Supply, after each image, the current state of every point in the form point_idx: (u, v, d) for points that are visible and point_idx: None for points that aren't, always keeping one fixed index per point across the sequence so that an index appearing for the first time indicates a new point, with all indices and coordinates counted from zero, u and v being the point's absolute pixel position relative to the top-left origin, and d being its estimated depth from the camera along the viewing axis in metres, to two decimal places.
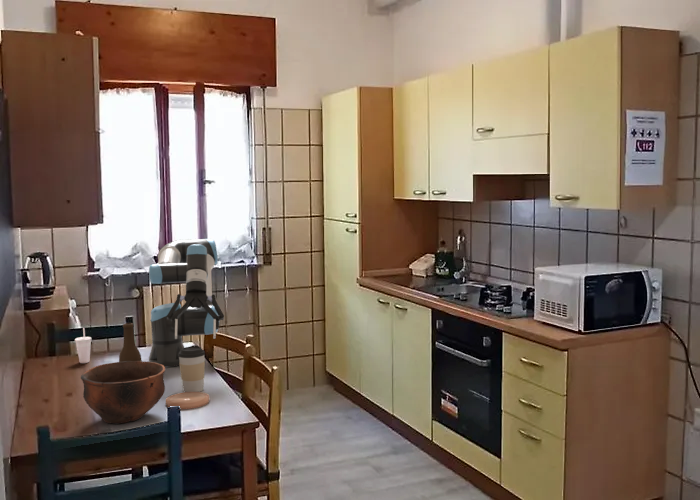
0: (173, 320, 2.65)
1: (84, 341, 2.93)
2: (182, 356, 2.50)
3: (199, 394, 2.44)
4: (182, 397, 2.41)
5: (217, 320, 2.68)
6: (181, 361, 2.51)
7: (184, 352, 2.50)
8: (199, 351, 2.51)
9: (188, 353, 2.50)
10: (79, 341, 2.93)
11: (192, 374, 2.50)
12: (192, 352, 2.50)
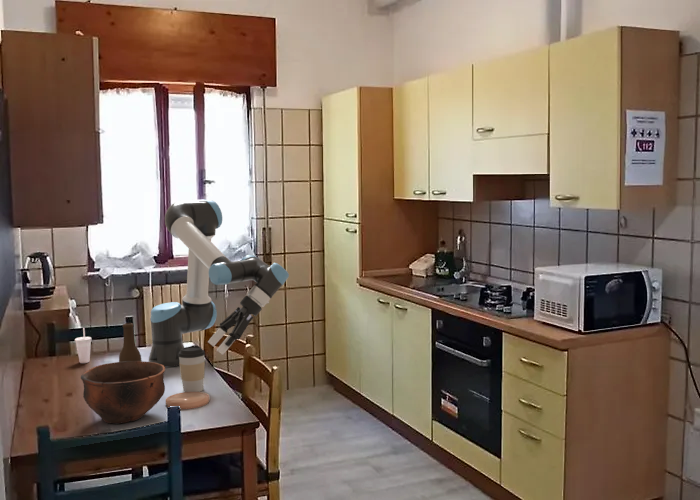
0: None
1: (84, 341, 2.93)
2: (182, 356, 2.50)
3: (199, 394, 2.44)
4: (182, 397, 2.41)
5: None
6: (181, 361, 2.51)
7: (184, 352, 2.50)
8: (199, 351, 2.51)
9: (188, 353, 2.50)
10: (79, 341, 2.93)
11: (192, 374, 2.50)
12: (192, 352, 2.50)
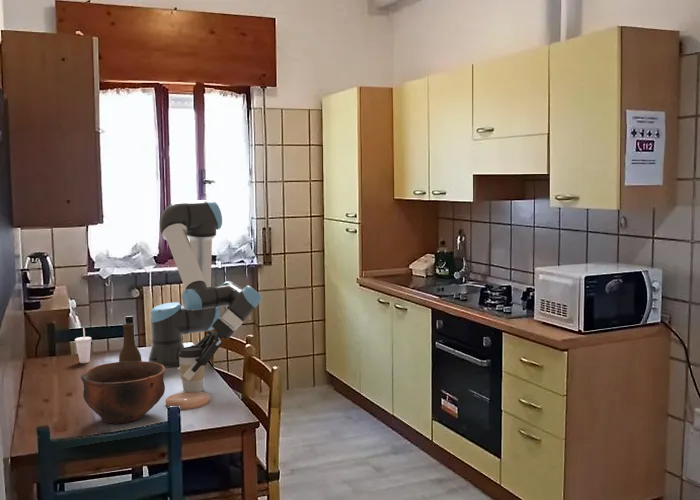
0: None
1: (84, 341, 2.93)
2: (182, 356, 2.50)
3: (199, 394, 2.44)
4: (182, 397, 2.41)
5: None
6: (181, 361, 2.51)
7: (184, 352, 2.50)
8: (199, 351, 2.51)
9: (188, 353, 2.50)
10: (79, 341, 2.93)
11: None
12: (192, 352, 2.50)
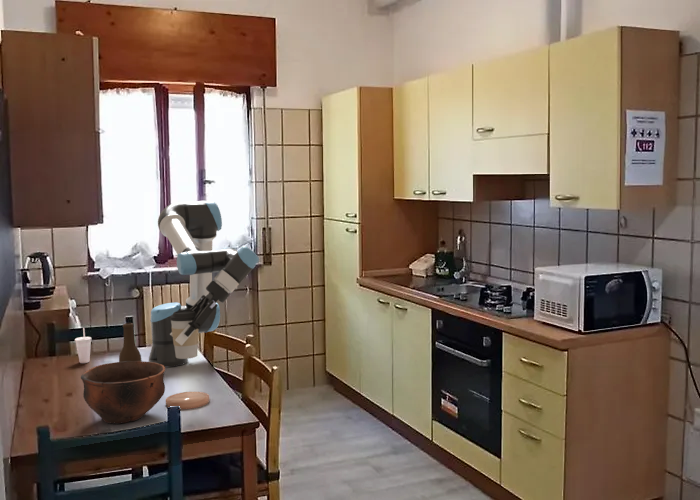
0: None
1: (84, 341, 2.93)
2: (174, 319, 2.35)
3: (199, 394, 2.44)
4: (182, 397, 2.41)
5: None
6: (173, 325, 2.35)
7: (176, 315, 2.35)
8: (192, 314, 2.36)
9: (181, 316, 2.35)
10: (79, 341, 2.93)
11: None
12: (185, 315, 2.35)
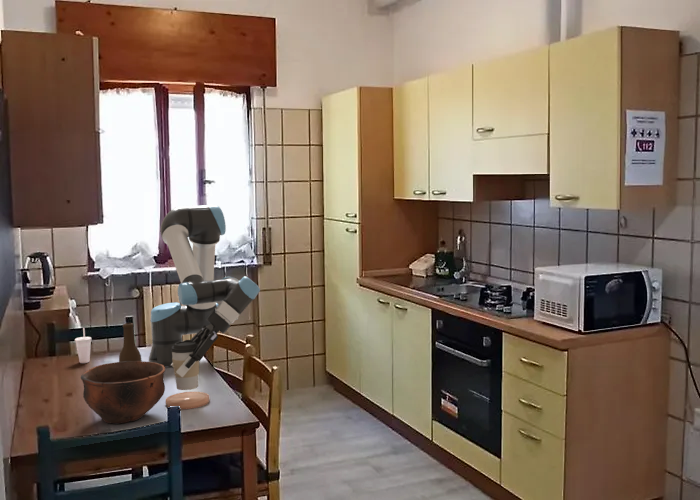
0: None
1: (84, 341, 2.93)
2: (175, 351, 2.35)
3: (199, 394, 2.44)
4: (182, 397, 2.41)
5: None
6: (174, 356, 2.36)
7: (177, 347, 2.36)
8: (193, 346, 2.37)
9: (181, 348, 2.35)
10: (79, 341, 2.93)
11: None
12: (186, 347, 2.35)
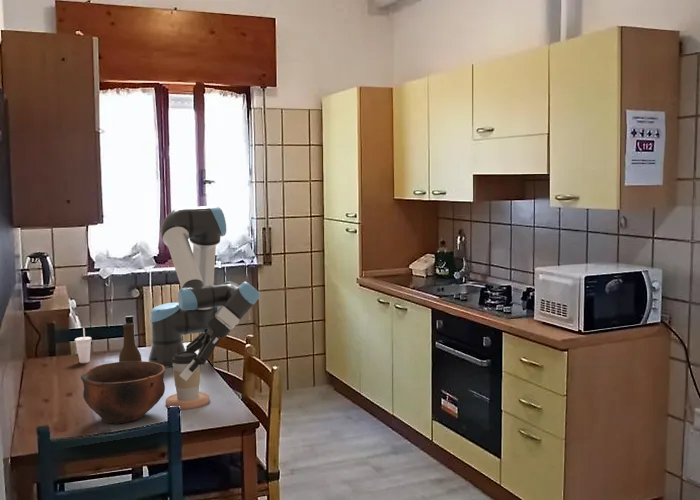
0: None
1: (84, 341, 2.93)
2: (176, 362, 2.36)
3: (199, 394, 2.44)
4: None
5: None
6: (175, 367, 2.37)
7: (178, 358, 2.36)
8: None
9: (182, 359, 2.36)
10: (79, 341, 2.93)
11: (186, 381, 2.36)
12: (186, 358, 2.36)
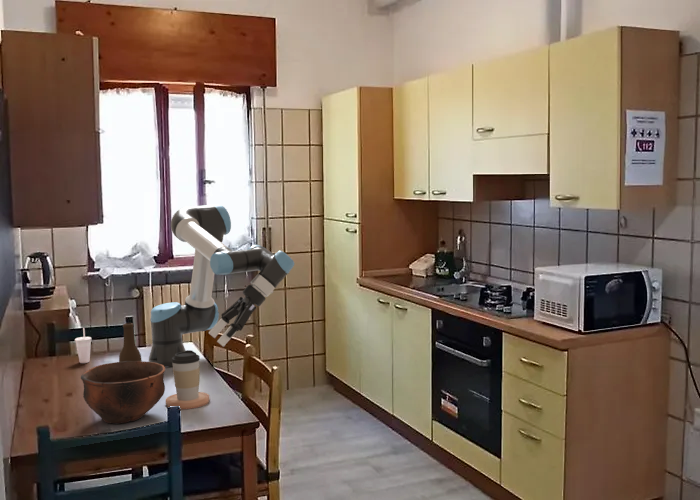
0: None
1: (84, 341, 2.93)
2: (176, 362, 2.36)
3: (199, 394, 2.44)
4: None
5: None
6: (175, 367, 2.37)
7: (178, 358, 2.36)
8: (194, 356, 2.38)
9: (182, 359, 2.36)
10: (79, 341, 2.93)
11: (186, 381, 2.36)
12: (186, 358, 2.36)
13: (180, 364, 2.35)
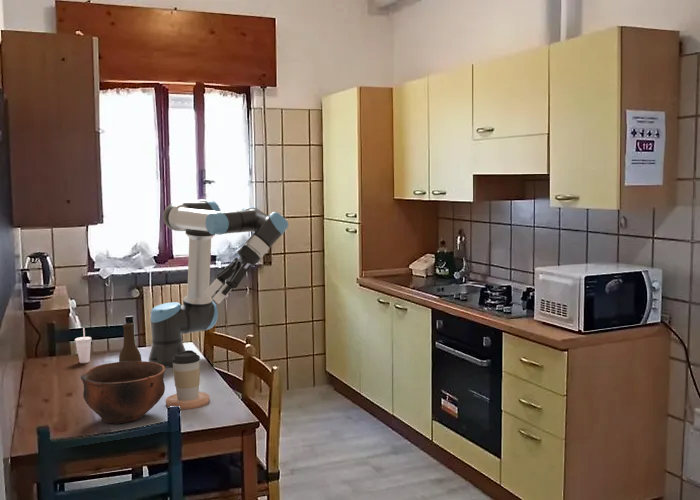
0: None
1: (84, 341, 2.93)
2: (176, 362, 2.36)
3: (199, 394, 2.44)
4: None
5: None
6: (175, 367, 2.37)
7: (178, 358, 2.36)
8: (194, 357, 2.38)
9: (182, 359, 2.36)
10: (79, 341, 2.93)
11: (186, 381, 2.36)
12: (186, 358, 2.36)
13: (180, 364, 2.35)
